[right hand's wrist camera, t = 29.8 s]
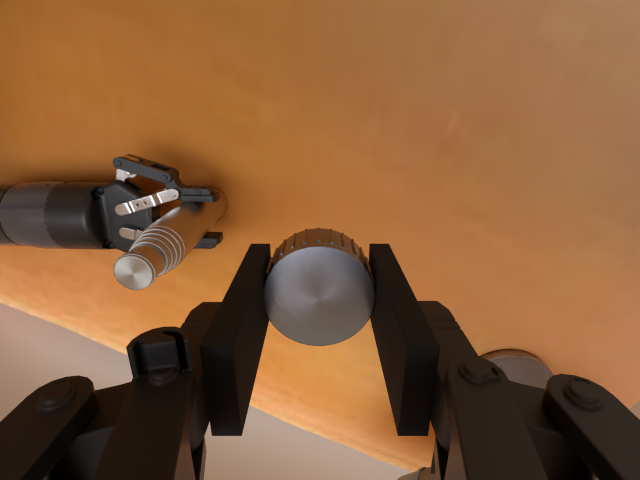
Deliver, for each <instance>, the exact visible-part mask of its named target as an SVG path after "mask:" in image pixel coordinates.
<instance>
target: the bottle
mask: <svg viewBox="0 0 640 480" xmlns="http://www.w3.org/2000/svg"><path fill="white" fill-rule="evenodd" d="M213 188H214V191H217V192H219V195H220V199H219V200H218V201H216V202H182V203H181V204H179V205H178V206H177V207H175V208H174V209H172V210H171V211H170V212H168V213H167V214H165V215H164V216H163V217H161V218H160V219H158V220H157V221H156V222H154V223H153V224H151V225H150V226H149V227H147V228H146V229H145V230H143V231H142V233H141V234H139V236H138V237H137V239H136V240H135V242H134V243H133V245H132V246H131V248H130V249H129V251H128V252H127V253H125V254H123V255H122V256H121V257H119V258H118V259H117V261H116V262H115V264H114V275H115V277H116V280H117V281H118V282H119V283H120V284H121V285H123V286H124V287H126V288H128V289H131V290H142V289H144V288H147V287H148V286H150V285H151V284H152V283H153V282H154V280H155V278H156V277H159V276H161V275H163V274H165V273H166V272H168V271H170V270H172V269H173V268H175V267H176V266H177V265H179V264H180V263H181V262H182V261H183V260H184V258H185V257H186V256H187V255H188V254H189V253H190V252H191V250H192V249H193V248H194V247H195V246H196V245H197V243H198V242H199V241H200V240H201V239H202V238H203V237H204V235H205V234H206V233H207V232H208V231H209V230H210V229H211V227H212V226H213V225H214V224H215V223H216V222H217V221H218V219H219V218H220V217H221V216H222V215H223V214H224V213H225V211H226V209H227V199H226V197H225V195H224V194H223V193H222V192H221V191H220V190H219V189H217V188H215V187H213Z"/></svg>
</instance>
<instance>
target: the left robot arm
mask: <svg viewBox="0 0 640 480" xmlns="http://www.w3.org/2000/svg"><path fill="white" fill-rule="evenodd" d="M113 165H114V166H115V167H116V168H117V172H116V179H115V180H112V181H110V182H65V181H58V180H54V181H40V182H31V183H0V246H31V247H37V248H51V249H118V250H121V251H123V252H126V253H127V252H128V251H129V249H130V248H131V246H132V245H133V243H134V242H135V240H136V239H137V237H138V236H139V234H141V233H142V231H143V230H145V229H146V228H147V227H149V226H150V225H151V224H153V223H154V222H156V221H157V220H158V219H160V216H159V210H160V206H159V204H162V203H165V202H169V201H172V200H176V199H181V202H216V201H218V200H219V199H220V195H219V192H217V191H214V188H213V187H210V186H186V185H184V184H183V183H182V182H181V181H180V179H179V172H178V170H177V169H175V168H172V167H169V166H165V165H162V164H159V163H156V162H153V161H150V160H146V159H143V158H140V157H137V156H134V155H131V154H128V155H124V156H120V157H117V158H115V159H114V160H113ZM139 175H140V176H143V177H146V178H149V179H152V180H156V181H159V182H162V183H164V185H165V187H166V188H163V189H159V190H156V191H152V192H149V193H148V192H147V191H145V190H144V189H142V188H141V187H139V186H138V185H136V184H134V183H133V182H131V181H130V180H128V179H129V178H134V177H137V176H139ZM222 240H223V233H222V232H207V233H206V234H205V235H204V237H203V238H202V239H201V240H200V241H199V242H198V243H197V245H196V246H195V247H194V248H206V249H211V248H214V247H216V245H217V244H219V243H220V242H221V241H222Z"/></svg>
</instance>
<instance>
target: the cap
mask: <svg viewBox="0 0 640 480" xmlns="http://www.w3.org/2000/svg"><path fill="white" fill-rule="evenodd" d="M266 275H267V276H266V279H265V282H264V302H265V312H266V314H267V316H268V318H269V320H270V321H271V323H272V324H273V326H274V327H275V328H276V329H277V330H278V331H279V332H281V333H282V334H283V335H285V336H286V337H288V338H289V339H292V340H294V341H296V342H299V343H302V344H306V345H313V346H325V345H332V344H336V343H339V342H342V341H344V340H346V339H348V338H350V337H352V336H353V335H355V334H356V333H357V332H359V331H360V330H361V329H362V328H363V327H364V325H365V324H366V323H367V321H368V320H369V318H370V316H371V314H372V312H373V309H374V305H375V287H374V280H373V277H372V271H371V268H370V265H369V262H368V258H367V257H365V255H364V253H363V251H362V248H361V247H359V246H358V245H357V244H356V243H355V242H354V240H353V239H350V238H349V237H347V236H346V235H344V233H339V232H337V231H333V230H332V229H320V228H317V229H309V230H307V229H305V230H304V231H301V232H299V233H294V234H293V235H292V236H291V237H289V238H288V239H286V240H284V241H283V243H282V244H281V245H280V246H279V247H278V248H276V250H275V253H274V255H273V258H272V257H271V258H270V261H269V264H268V268H267V271H266Z"/></svg>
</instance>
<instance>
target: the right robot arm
mask: <svg viewBox="0 0 640 480" xmlns="http://www.w3.org/2000/svg"><path fill="white" fill-rule="evenodd" d="M270 258H271V254H270V244H251V245H250V247H249V249H248V251H247V253H246V255H245V257H244V259H243V261H242V263H241V265H240V267H239V269H238V271H237V273H236V275H235V277H234V279H233V281H232V283H231V285H230V287H229V289H228V291H227V293H226V295H225V297H224V299H223V301H222V302H202V303H201V304H200V305H198V306H197V307H195V308H194V309H193V310H191V312H190V313H189V315H188V316H187V318H186V320H185V322H184V323H183V324H182V326H181V328H178V327H161V328H156V329H152V330H149V331H147V332H144V333H142V334H140V335H139V336H137V337H136V338H134V339H133V340H132V341H131V342H130V343H129V344H128V346H127V347H126V348H127V352H128V357H129V361H130V366H131V370H132V374H133V379H132V381H131V382H129V383H125V384H122V385H118V386H113V387H109V388H104V389H100V390H95V389H94V385H93V382H92V381H91V380H90V379H89V378H87V377H83V376H70V377H64V378H60V379H57V380H54V381H52V382H50V383H48V384H46V385H44V386H42V387H40V388H38V389H37V390H35V391H34V392H33V393H31V394H30V395H29V396H27V397H26V398H25V399H24V400H23V401H22V402H21V403H20V404H19V405H18V406H17V407H16V408H15V409H14V410H13V411H12V412H10V413H9V414H8V415H7V416H6V417H5V418H4V419H3V420H2V421H1V422H0V480H203V479H204V469H205V459H206V446H205V439H204V435H205V433H206V430H207V427H208V424H209V421H210V425H211V432H212V436H241V435H242V432H243V428H244V424H245V419H246V415H247V411H248V407H249V403H250V399H251V394H252V390H253V386H254V382H255V377H256V373H257V369H258V365H259V361H260V356H261V352H262V348H263V344H264V340H265V335H266V331H267V327H268V323H269V318H268V316H267V314H266V312H265V302H264V282H265V279H266V276H267V275H266V271H267V268H268V264H269V261H270ZM369 265H370V268H371V271H372V277H373V280H374V287H375V305H374V309H373V312H372V314H371V316H370V319H371V324H372V328H373V332H374V336H375V341H376V345H377V349H378V353H379V357H380V362H381V366H382V370H383V374H384V378H385V383H386V387H387V391H388V395H389V400H390V404H391V408H392V412H393V416H394V421H395V425H396V429H397V433H398V436H428V430H429V423H430V420H431V423H432V426H433V429H434V431H435V434H436V439H435V445H434V452H433V458H432V465H431V467H428V468H426V467H422V468H420V469H419V470H418V471H416V472H413V473H410V474H407V475H404V476H402V477H400V478H399V479H398V480H640V420H639V419H638V418H637V417H636V416H635V415H634V414H633V413H632V412H631V411H630V410H629V409H628V408H626V407H625V406H624V405H623V404H622V403H621V402H620V401H619V400H618V399H617V398H616V397H615V396H614V395H612V394H611V393H610V392H608V391H607V390H606V389H604V388H603V387H602V386H600V385H598V384H596V383H594V382H592V381H590V380H588V379H585V378H581V377H578V376H575V375H566V374H560V375H555V376H553V374H552V373H551V371H550V370H549V369H548V368H547V366H546V365H545V364H544V363H543V362H542V361H541V360H540V359H539V358H537V357H536V356H534V355H532V354H530V353H528V352H524V351H519V350H501V351H496V352H492V353H489V354H486V355H484V356H482V357H479V356H478V355H477V353H476V352H475V350H474V348H473V347H472V345H471V344H470V342H469V341H468V339H467V337H466V336H465V334H464V333H463V331H462V330H460V326H459V325H458V323H457V322H456V321H455V319H454V317H453V315H452V314H451V312H450V311H449V309H447V308H446V307H445V306H443V305H442V304H440V303H439V302H438V301H417V299H416V297H415V295H414V293H413V291H412V289H411V287H410V285H409V283H408V281H407V279H406V277H405V275H404V273H403V271H402V269H401V267H400V265H399V263H398V262H397V260H396V258H395V256H394V254H393V252H392V250H391V248H390V246H389V244H370V249H369Z"/></svg>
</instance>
